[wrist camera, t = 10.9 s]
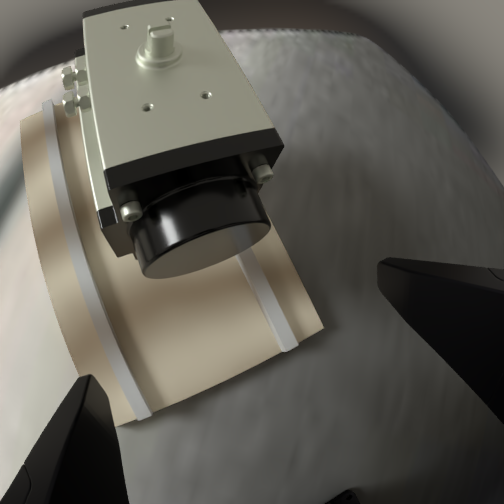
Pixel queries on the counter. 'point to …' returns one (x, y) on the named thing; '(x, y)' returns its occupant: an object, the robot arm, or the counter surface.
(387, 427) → the counter surface
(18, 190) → the counter surface
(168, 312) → the mounting panel
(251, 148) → the pneumatic valve
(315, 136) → the counter surface
